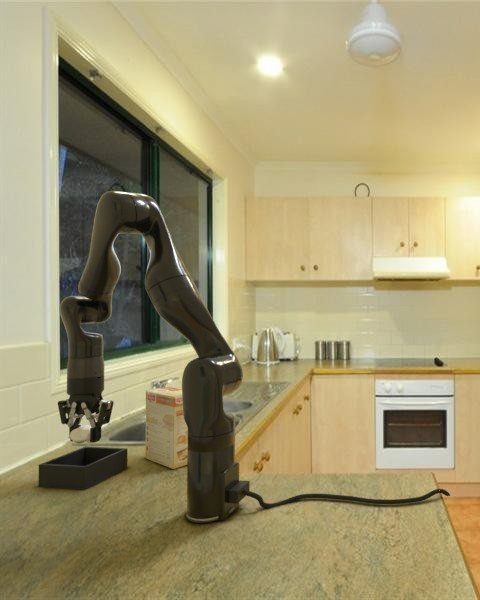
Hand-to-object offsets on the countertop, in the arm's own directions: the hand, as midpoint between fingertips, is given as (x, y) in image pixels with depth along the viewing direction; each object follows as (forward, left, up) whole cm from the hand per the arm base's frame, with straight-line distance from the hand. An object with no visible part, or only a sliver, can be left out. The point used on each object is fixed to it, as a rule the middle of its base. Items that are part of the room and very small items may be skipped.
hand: (85, 440), depth 102 cm
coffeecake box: (-14, -13, -9) cm, 21 cm away
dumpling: (0, 0, -1) cm, 1 cm away
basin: (0, 0, -9) cm, 9 cm away
